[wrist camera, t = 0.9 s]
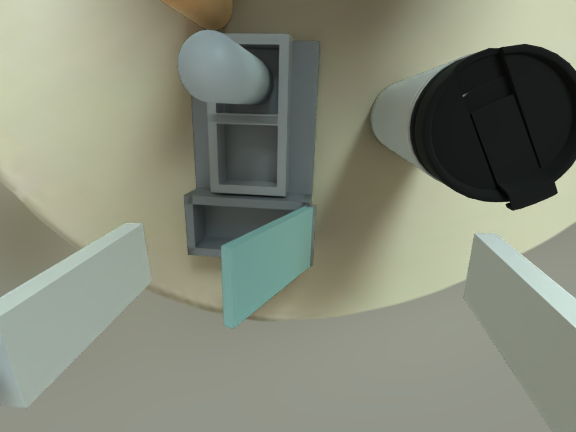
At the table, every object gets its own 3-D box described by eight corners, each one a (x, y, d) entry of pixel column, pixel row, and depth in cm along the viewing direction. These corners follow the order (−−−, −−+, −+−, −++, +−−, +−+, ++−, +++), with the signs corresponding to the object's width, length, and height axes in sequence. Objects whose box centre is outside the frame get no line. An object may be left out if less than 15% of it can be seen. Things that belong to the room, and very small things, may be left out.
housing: (192, 40, 32) (172, 31, 28) (319, 41, 31) (318, 32, 27) (202, 239, 38) (187, 254, 34) (309, 246, 37) (307, 263, 33)
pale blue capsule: (231, 58, 31) (175, 29, 20) (274, 58, 31) (242, 30, 20) (232, 104, 33) (179, 101, 21) (273, 105, 32) (243, 103, 21)
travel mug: (386, 164, 34) (460, 236, 15) (359, 100, 32) (402, 89, 13) (449, 135, 32) (623, 173, 13) (424, 67, 31) (579, 1, 12)
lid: (219, 245, 21) (232, 249, 21) (308, 203, 31) (317, 205, 31) (222, 324, 23) (234, 329, 23) (305, 261, 33) (314, 263, 33)
